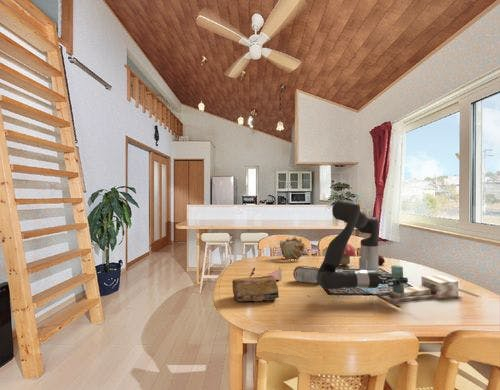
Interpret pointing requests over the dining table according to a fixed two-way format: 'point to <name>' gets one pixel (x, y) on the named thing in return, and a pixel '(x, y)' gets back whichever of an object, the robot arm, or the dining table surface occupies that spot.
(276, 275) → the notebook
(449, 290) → the tunnel track
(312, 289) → the dining table surface
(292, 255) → the olive rough rounded lump
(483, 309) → the dining table surface
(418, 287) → the block with teal grip
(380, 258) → the potato
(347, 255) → the decorative mushroom
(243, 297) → the petrified wood
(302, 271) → the tin
